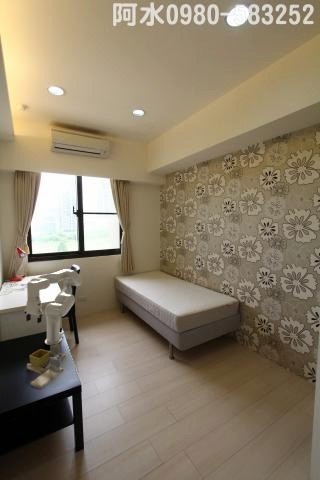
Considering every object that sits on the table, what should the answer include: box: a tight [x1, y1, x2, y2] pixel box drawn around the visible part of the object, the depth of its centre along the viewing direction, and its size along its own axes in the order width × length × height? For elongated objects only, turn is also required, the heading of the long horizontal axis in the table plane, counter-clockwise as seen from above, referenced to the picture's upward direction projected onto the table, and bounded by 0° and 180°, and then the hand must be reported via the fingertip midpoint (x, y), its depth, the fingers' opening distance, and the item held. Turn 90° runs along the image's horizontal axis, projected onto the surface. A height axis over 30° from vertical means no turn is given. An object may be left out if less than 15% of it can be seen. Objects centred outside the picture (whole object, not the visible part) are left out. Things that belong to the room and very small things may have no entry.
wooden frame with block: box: [26, 343, 67, 375], centre depth 152 cm, size 20×14×8 cm
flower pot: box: [29, 348, 50, 368], centre depth 147 cm, size 9×9×9 cm
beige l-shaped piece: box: [30, 355, 64, 389], centre depth 137 cm, size 17×8×10 cm, turn 160°
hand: (34, 321), depth 158 cm, fingers open, 9 cm apart
